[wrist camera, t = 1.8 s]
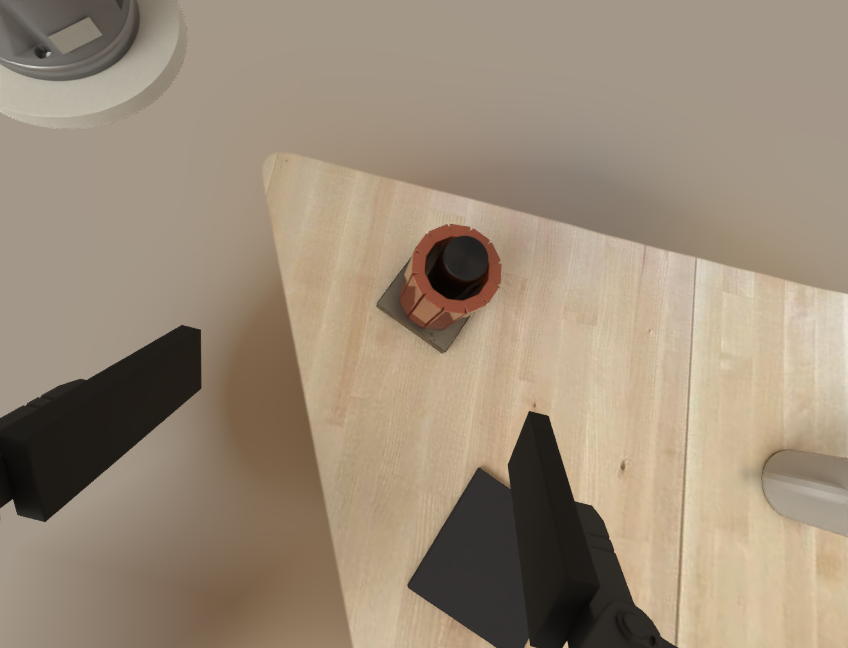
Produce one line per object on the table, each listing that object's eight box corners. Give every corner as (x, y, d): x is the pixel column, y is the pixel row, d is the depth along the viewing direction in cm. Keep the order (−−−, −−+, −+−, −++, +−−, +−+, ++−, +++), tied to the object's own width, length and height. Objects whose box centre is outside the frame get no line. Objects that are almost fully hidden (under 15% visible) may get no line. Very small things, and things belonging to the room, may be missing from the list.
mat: (407, 585, 36) (407, 587, 35) (478, 467, 38) (479, 468, 38) (514, 657, 36) (516, 661, 36) (577, 537, 39) (580, 538, 38)
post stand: (376, 306, 39) (384, 268, 26) (422, 244, 41) (451, 180, 28) (442, 353, 39) (482, 338, 26) (485, 290, 41) (542, 247, 28)
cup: (814, 524, 43) (930, 559, 34) (734, 506, 42) (833, 538, 33) (817, 456, 44) (929, 473, 36) (740, 437, 43) (836, 450, 34)
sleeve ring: (385, 301, 38) (394, 276, 29) (426, 247, 39) (445, 207, 30) (444, 343, 38) (470, 331, 29) (481, 287, 39) (517, 259, 30)
